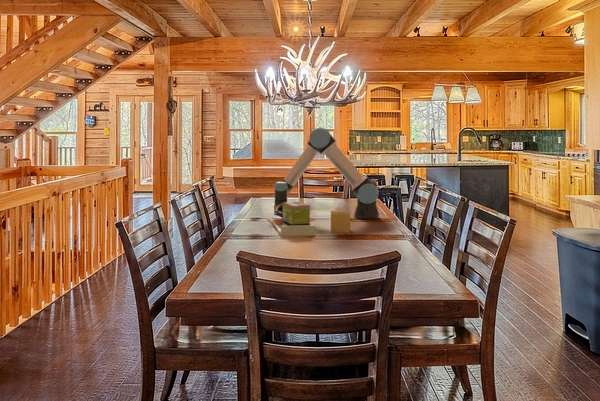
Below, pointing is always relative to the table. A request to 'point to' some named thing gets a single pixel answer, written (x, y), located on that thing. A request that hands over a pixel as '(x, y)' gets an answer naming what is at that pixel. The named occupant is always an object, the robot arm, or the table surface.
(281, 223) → the trap pads
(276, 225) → the track rails
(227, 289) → the table surface
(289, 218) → the tea box
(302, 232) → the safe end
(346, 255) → the table surface
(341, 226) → the cheese
